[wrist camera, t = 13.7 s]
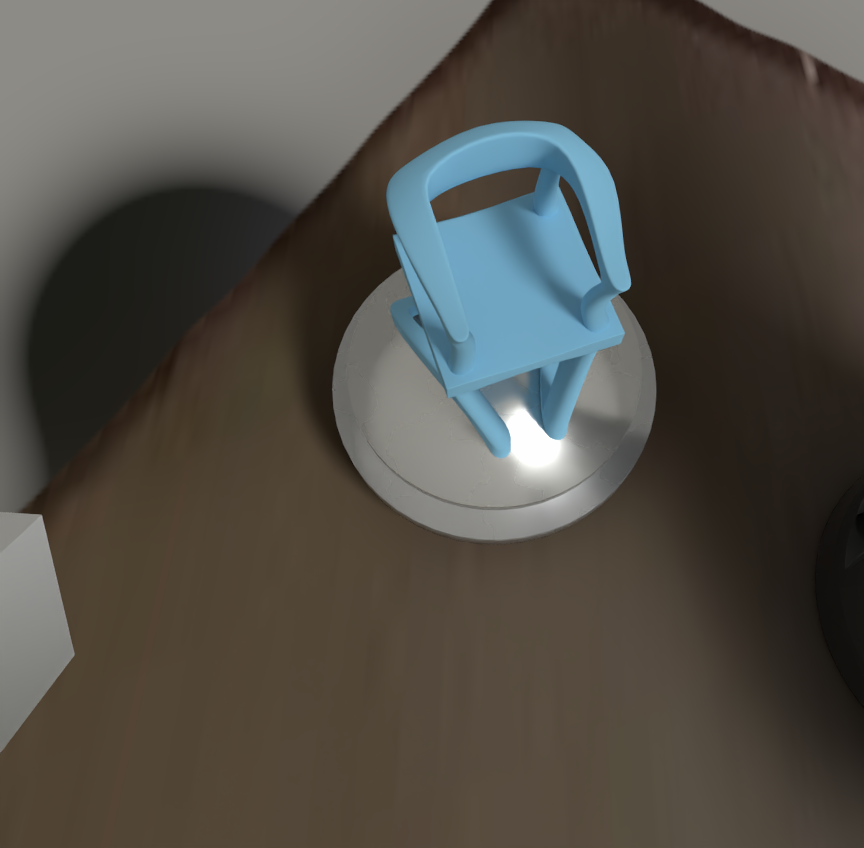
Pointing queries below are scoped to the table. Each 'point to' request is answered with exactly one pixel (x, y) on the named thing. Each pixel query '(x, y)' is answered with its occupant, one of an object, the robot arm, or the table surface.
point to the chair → (509, 271)
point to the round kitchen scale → (463, 446)
